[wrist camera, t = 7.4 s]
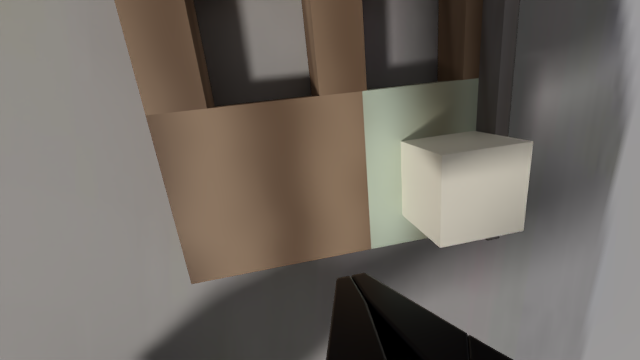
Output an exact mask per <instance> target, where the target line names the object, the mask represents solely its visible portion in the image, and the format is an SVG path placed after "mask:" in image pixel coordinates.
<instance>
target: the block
mask: <svg viewBox="0 0 640 360" xmlns="http://www.w3.org/2000/svg"><path fill="white" fill-rule="evenodd" d="M532 149H533V141H529V140H523V139H518V138H512V137H506V136H501V135H495V134H489V133H484V132H478V131H468V132H461V133H454V134H447V135H440V136H433V137H426V138H419V139H412V140H405V141H401V178H402V215H403V216H404V217H405V218H406V219H407V220H408V221H410V222H411V223H412V224H413V225H414V226H415V227H417V228H418V229H419V230H420V231H421V232H422V233H424V234H425V235H426V236H427V237H428V238H429V239H430V240H432V241H433V242H434V243H435V244H436V245H437V246H439V247H440V248H442V247H447V246H452V245H457V244H462V243H467V242H472V241H477V240H481V239H486V238H491V237H496V236H501V235H506V234H511V233H516V232H521V231H524V221H525V212H526V203H527V194H528V185H529V176H530V167H531V158H532Z"/></svg>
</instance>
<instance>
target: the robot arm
mask: <svg viewBox="0 0 640 360" xmlns="http://www.w3.org/2000/svg"><path fill="white" fill-rule="evenodd" d="M326 360H513V359H511V358H509V357H507V356H506V355H504V354H502V353H500V352H498V351H497V350H495V349H493V348H491V347H490V346H488V345H486V344H484V343H483V342H481V341H479V340H478V339H476V338H474V337H473V336H471V335H469V336H468V335H467V333H466V332H464V331H462V330H460V329H459V328H457V327H455V326H454V325H452V324H450V323H449V322H447V321H445V320H444V319H442V318H440V317H439V316H437V315H435V314H434V313H432V312H430V311H428V310H427V309H425V308H423V307H422V306H420V305H418V304H417V303H415V302H413V301H412V300H410V299H408V298H407V297H405V296H403V295H401V294H400V293H398V292H396V291H395V290H393V289H391V288H390V287H388V286H386V285H385V284H383V283H381V282H380V281H378V280H376V279H374V278H373V277H371V276H369V275H368V274H366V273H361V274H356V275H352V277H350V276H346V277H341V278H338V279H337V281H336V288H335V296H334V303H333V311H332V319H331V326H330V334H329V341H328V349H327V357H326Z"/></svg>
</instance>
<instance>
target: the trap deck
mask: <svg viewBox="0 0 640 360" xmlns="http://www.w3.org/2000/svg"><path fill="white" fill-rule="evenodd" d="M114 1H115V4H116V8H117V12H118V15H119V19H120V23H121V26H122V30H123V34H124V37H125V41H126V45H127V48H128V52H129V56H130V59H131V63H132V67H133V70H134V74H135V78H136V81H137V85H138V89H139V92H140V96H141V100H142V103H143V107H144V111H145V115H146V118H147V122H148V126H149V129H150V133H151V137H152V140H153V144H154V148H155V151H156V155H157V159H158V162H159V166H160V170H161V173H162V177H163V181H164V184H165V188H166V192H167V195H168V199H169V203H170V206H171V210H172V214H173V217H174V221H175V225H176V228H177V232H178V236H179V239H180V243H181V247H182V251H183V254H184V258H185V262H186V265H187V269H188V273H189V276H190V280H191V284H195V283H200V282H205V281H210V280H215V279H220V278H225V277H230V276H236V275H241V274H246V273H251V272H256V271H261V270H266V269H271V268H277V267H282V266H287V265H292V264H297V263H302V262H307V261H312V260H318V259H323V258H328V257H333V256H338V255H343V254H348V253H353V252H358V251H364V250H369V249H374V248H379V247H384V246H389V245H394V244H399V243H405V242H410V241H415V240H420V239H425V238H428V237H427V236H426V235H425V234H424V233H422V232H421V231H420V230H419V229H418V228H417V227H415V226H414V225H413V224H412V223H411V222H410V221H408V220H407V219H406V218H405V217H404V216H403V215H402V178H401V141H405V140H412V139H419V138H426V137H433V136H440V135H447V134H454V133H461V132H468V131H478V132H484V133H489V134H495V135H501V136H506V137H508V132H509V120H510V109H511V97H512V86H513V74H514V62H515V51H516V39H517V28H518V16H519V5H520V0H439V12H438V81H437V82H430V83H421V84H412V85H403V86H394V87H385V88H376V89H367V84H366V65H365V46H364V27H363V9H362V0H302V9H303V18H304V28H305V37H306V47H307V56H308V65H309V75H310V84H311V94H312V96H304V97H295V98H286V99H277V100H268V101H259V102H250V103H241V104H232V105H223V106H215V105H214V100H213V95H212V90H211V85H210V80H209V75H208V70H207V65H206V61H205V56H204V51H203V46H202V41H201V36H200V31H199V26H198V21H197V16H196V11H195V6H194V1H193V0H114ZM497 238H499V236H496V237H491V238H486V240H492V239H497Z"/></svg>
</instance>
